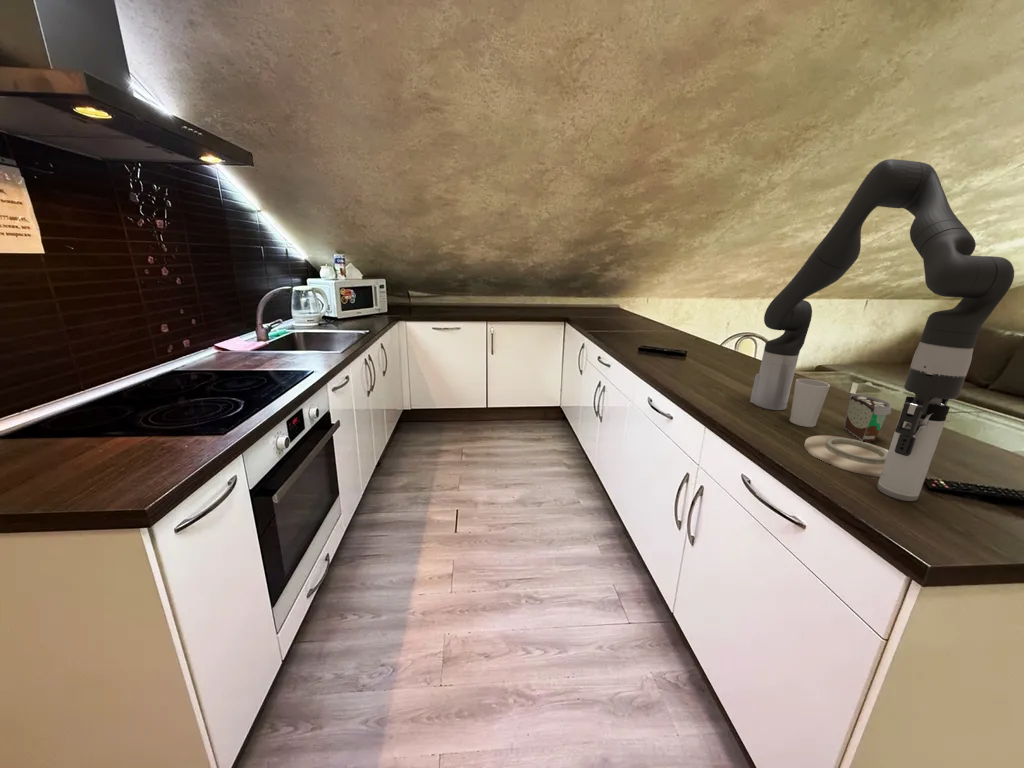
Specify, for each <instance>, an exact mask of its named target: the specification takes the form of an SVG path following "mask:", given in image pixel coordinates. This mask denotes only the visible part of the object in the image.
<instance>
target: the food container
mask: <svg viewBox="0 0 1024 768" xmlns="http://www.w3.org/2000/svg"><path fill="white" fill-rule="evenodd" d="M891 411H892V407H891V403H890V402H888V401H887V400H884V399H882V398H879V397H875V396H871V395H866V394H861V393H853V392H851V393H850V395H849V397H848V406H847V410H846V416H845V420H844V424H843V429H844V428H845V429H846V431H847V430H848V431H849V432H848V431H847V432H848V433H850V434H851V433H852V434H851V435H853V436H854V437H855V436H856V437H855V438H857V439H858V438H859V439H858V440H859V441H862V442H863V441H865V442H866V443H872V442H871V441H873V442H875V441H876V440H877V437H878V435H879V433H880V431H881V429H882V426H883V424H884V422H885V419H886V416H889V415H891V414H892V412H891ZM845 429H844V430H845Z"/></svg>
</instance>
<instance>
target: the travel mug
mask: <svg viewBox="0 0 1024 768" xmlns="http://www.w3.org/2000/svg"><path fill="white" fill-rule="evenodd" d="M914 397H915V396H910V395H909V396H908V395H907V396H906V397H905V400H904V403H903V405H904V404H905V403H906V402H910V403H912V402H913V400H914ZM950 408H951V407H950V406H949V405H945V406H939V405H931V404H930V405H929V408H928V411H927V414H926V416H927V415H929V414H932V415H931V417H930V420H929V423H928V425H927V427H926V428H925V429H921V430H920V432H919V434H918V436H917V437H916V440H915V443H914V446H913V449H912V452H911V454H910V455H909V456H904V455H901V454H898V453H896V452H895V448H896V445H897V442H898V439H899V435H900V434H899V433H897V432H895V431H896V430H895V429H894V433H893V436H892V438H891V439H892V440H891V443H890V445H889V449H888V450H889V451H888V454H887V457H886V460H885V464H884V467H883V470H882V473H881V476H880V477H879V478H878V479H879V480H878V483H877V486H876V488H877V490H878V491H879V492H881V494H884V495H886V496H888V497H890V498H892V499H896V500H899V501H903V502H915V501H917V500H919V496H920V493H921V490H922V488H923V485H924V483H925V481H926V476H927V474H928V472H929V468H930V467H931V462H932V460H933V457H934V454H935V451H936V449H937V446H938V442H939V441H940V437H941V435H942V432H943V429H944V427H945V423H946V421H947V420H946V419H947V416H948V414H949V411H950ZM902 410H903V408H902V409H901V411H900V415H899V418H898V421H897V424H896V427H897V425H898V422H899V419H900V416H901V413H902ZM933 413H934V414H933ZM910 416H912V415H910ZM926 416H925V417H926ZM925 417H924V418H920V420H919V422H922V421H924V419H925ZM896 427H895V428H896ZM911 427H912V426H910V425H909V426H907V429H911Z"/></svg>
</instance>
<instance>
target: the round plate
mask: <svg viewBox="0 0 1024 768" xmlns="http://www.w3.org/2000/svg"><path fill="white" fill-rule="evenodd" d="M803 448H805V450H806V452H807V451H808V452H807V453H808V454H809V455H810V456H813V457H814V458H816V459H817V458H818V460H819V459H820V461H821V460H822V462H823V461H824V463H826V464H828V465H830V464H831V466H833V467H836V468H839V469H840V470H841V469H842V470H845V471H848V472H852V473H856V474H860V475H864V476H870V477H876V478H880V476H881V473H882V470H883V467H884V464H885V460H886V457H887V454H888V451H889V449H887V448H884V447H881V446H878V445H875V444H872V443H871V442H863V441H861V440H859V439H853V438H849V437H844V436H843V437H842V436H834V435H812V436H809V437H807V438H806V439H805V441H804V447H803Z"/></svg>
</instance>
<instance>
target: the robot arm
mask: <svg viewBox="0 0 1024 768" xmlns="http://www.w3.org/2000/svg"><path fill="white" fill-rule="evenodd" d="M947 198H948V197H947V196H946V192H945V191H944V189H943V186H942V183H941V180H940V178H939V175H938V173H937V171H936V170H935V168H934V167H933V166H932V165H931V164H928V163H926V162H922V161H915V160H906V159H905V160H904V159H895V158H890V159H884V160H882V161H879V162H878V163H877V164H876V165H875V166H874V167H873V168H872V169H871V170H870V171H869V172H868V174H867V175H866V176H865V177H864V179H863V180H862V182H861V183H860V185H859V187H858V189H856V191H855V193H854V195H853V196H852V197H851V198H850V201H849V203H847V205H846V207H845V208H844V210H843V211H842V213H841V215H840V216H839V217H838V219H837V221H836V222H835V223H834V224H833V226H832V227H831V228H830V230H829V231H828V233H827V234H826V235H825V237H824V238H823V239H822V240H821V241H820V242H819V244H818V245H817V246H816V248H815V249H814V250H813V252H812V253H811V254H810V255H809V256H808V258H807V259H806V261H805V262H804V264H803V265H802V266H801V268H800V269H799V270H798V272H797V273H796V274H795V275H794V276H793V278H792V279H791V280H790V281H789V282H788V284H787V285H786V286H784V288H783V289H782V290H781V291H780V292H779V293H778V294H777V295H776V296H775V297H774V298H773V299H772V301H770V303H769V304H768V307H767V308H766V310H765V312H764V316H763V322H764V323H763V324H764V325H765V326H766V327H767V328H768V329H770V330H774V331H784V332H783V334H781V335H780V336H778V337H776V338H773V339H770V340H768V341H766V343H765V345H764V350H763V353H762V358H761V363H760V367H759V372H758V373H756V374H755V377H754V382H753V386H752V389H751V396H750V399H749V400H750V401H749V403H751V404H753V405H755V406H757V407H759V408H763V409H765V410H766V409H767V410H773V411H784V410H786V409H787V406H788V403H789V397H790V392H791V389H792V384H793V382H794V381H793V380H794V378H795V377H794V376H795V374H796V373H795V371H796V369H797V368H796V367H797V365H798V364H797V363H798V359H799V355H800V352H801V350H802V349H803V346H804V344H805V342H806V341H805V340H806V338H807V335H808V331H809V328H810V325H811V321H812V317H813V309H812V308H813V307H812V305H811V303H810V302H809V301H808V300H805V299H806V298H809V297H810V296H812V295H814V294H816V293H817V292H819V291H822V290H823V289H826V288H827V287H829V286H831V285H833V284H835V283H836V282H838V280H840V279H841V278H842V277H843V276H844V275H845V274H846V272H847V271H849V269H850V268H851V267H852V266H853V264H855V263H856V261H857V260H858V258H859V256H860V254H861V247H862V244H861V243H862V236H861V234H862V227H863V225H864V222H865V221H866V220H867V218H868V217H869V215H870V214H871V213H872V212H873V211H874V210H875V209H876V208H877V207H880V208H888V209H890V208H891V209H905V210H906V211H908V212H909V213H910V214H912V216H913V217H915V218H914V219H913V222H912V223H911V225H910V230H909V236H910V237H909V238H910V241H911V243H912V245H913V247H914V249H915V250H916V252H918V255H920V257H921V258H922V261H923V269H924V278H925V279H924V280H925V285H926V287H927V288H928V290H929V291H931V292H932V293H933V294H935V295H937V296H940V297H944V298H945V297H946V298H962V299H961V300H960V301H959V302H958V303H957V305H956V306H954V307H953V308H951V309H950V308H949V309H944V310H938V311H934V312H932V313H931V314H929V316H928V317H927V320H926V322H925V325H924V329H923V331H922V334H921V337H920V341H919V344H918V346H917V347H916V350H915V352H914V355H913V357H912V361H911V363H910V367H909V370H908V374H907V375H906V380H905V382H904V386H903V387H904V389H905V391H907V392H909V393H913V394H914V396H913V397H914V400H913V402H912V403H910V402H906V403H905V402H904V403H905V404H904V403H903V407H902V409H903V410H902V409H901V411H902V413H901V412H900V415H901V416H900V415H899V417H900V419H899V418H898V420H899V422H898V421H897V423H898V425H897V424H896V426H897V427H895V429H894V433H895V432H897V433H899V434H900V435H899V439H898V442H897V445H896V448H895V452H896V453H898V454H901V455H904V456H909V455H910V454H911V452H912V449H913V446H914V443H915V440H916V437H917V436H918V434H919V432H920V430H921V429H925V428H926V427H927V425H928V423H929V420H930V417H931V415H932V414H929V415H927V416H926V414H927V411H928V408H929V405H930V404H931V405H939V406H945V405H946V406H948V405H947V404H948V402H949V400H956V399H957V398H958V397H960V394H961V392H962V388H963V386H964V382H965V381H966V378H967V374H968V372H969V368H970V366H971V362H972V359H973V352H974V349H975V346H976V343H977V341H978V340H977V339H978V338H979V335H980V332H981V328H982V326H983V325H984V323H985V322H986V321H987V319H988V318H989V317H990V316H991V314H992V313H993V311H994V310H995V309H996V307H997V306H998V305H999V304H1000V302H1001V301H1002V300H1003V298H1004V297H1005V295H1006V294H1007V293H1008V292H1009V290H1010V289H1011V288H1012V287H1011V286H1012V285H1013V282H1014V279H1015V268H1014V266H1013V263H1012V262H1011V261H1010V260H1009V259H1007V258H1005V257H1002V256H994V255H993V256H992V255H991V256H989V255H972V254H973V253H974V251H975V250H976V245H977V243H976V240H975V238H974V236H973V235H972V233H971V232H970V231H969V230H968V229H967V227H966V226H965V225H964V224H963V223H962V221H961V220H959V218H958V217H957V216H956V214H955V213H954V211H953V210H952V207H951V205H950V203H949V201H948V199H947ZM933 414H934V413H933ZM910 415H912V416H910ZM925 416H926V417H925ZM924 417H925V419H924V421H922V422H919V420H920V418H924ZM909 425H910V426H912V427H911V429H907V426H909ZM895 430H896V431H895Z"/></svg>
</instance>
